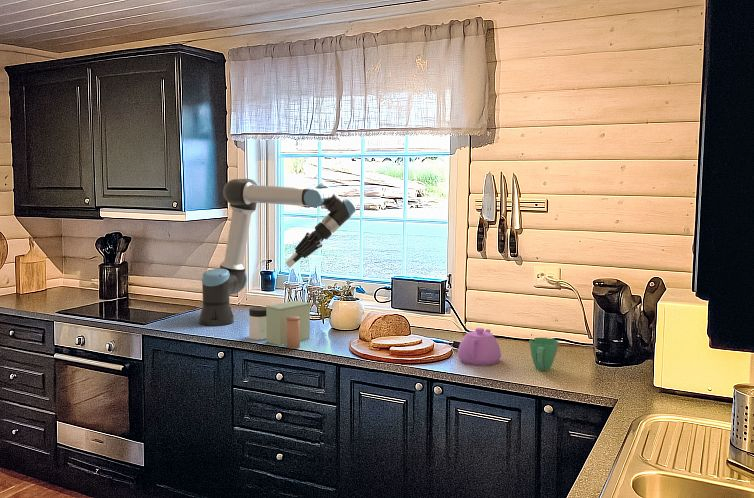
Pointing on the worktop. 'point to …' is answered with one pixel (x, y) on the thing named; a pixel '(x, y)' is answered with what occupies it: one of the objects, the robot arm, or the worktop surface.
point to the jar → (257, 323)
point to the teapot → (479, 348)
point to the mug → (543, 352)
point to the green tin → (278, 320)
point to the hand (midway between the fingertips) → (287, 265)
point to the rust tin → (293, 332)
